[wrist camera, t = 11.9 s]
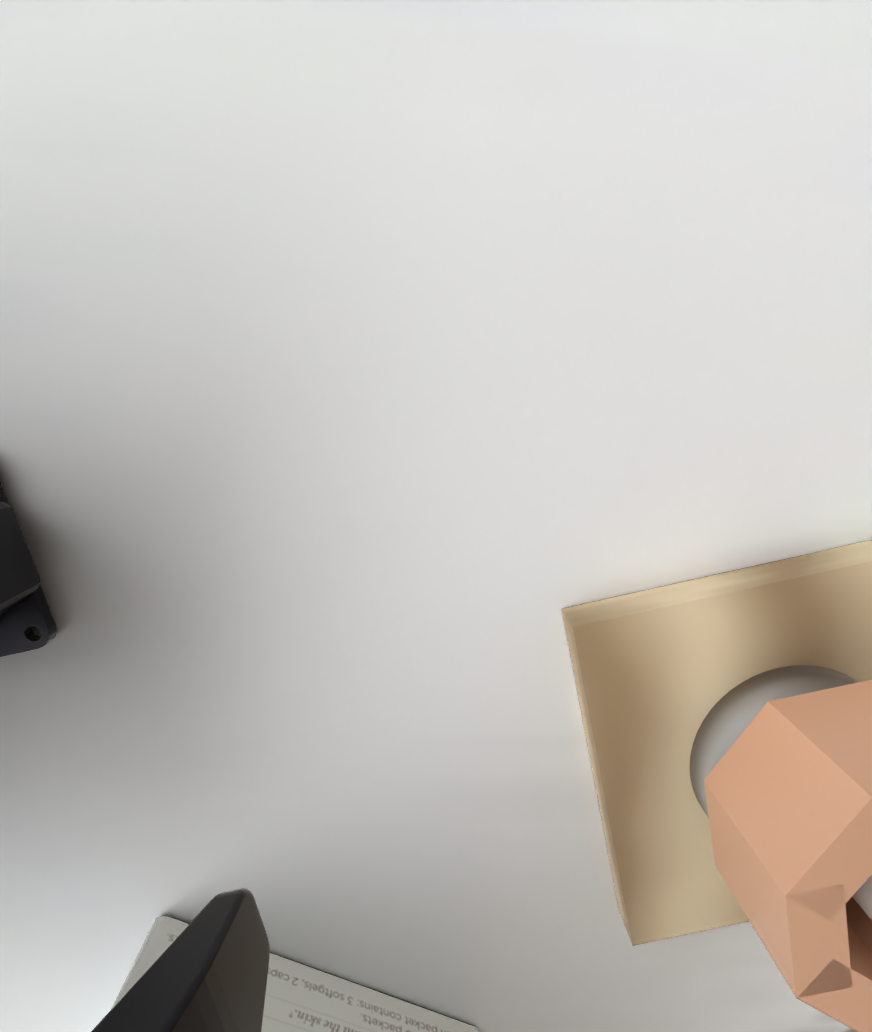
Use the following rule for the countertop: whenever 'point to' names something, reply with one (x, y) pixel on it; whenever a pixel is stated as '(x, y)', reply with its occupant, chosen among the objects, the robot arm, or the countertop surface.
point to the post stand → (702, 711)
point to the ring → (803, 842)
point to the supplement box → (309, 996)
